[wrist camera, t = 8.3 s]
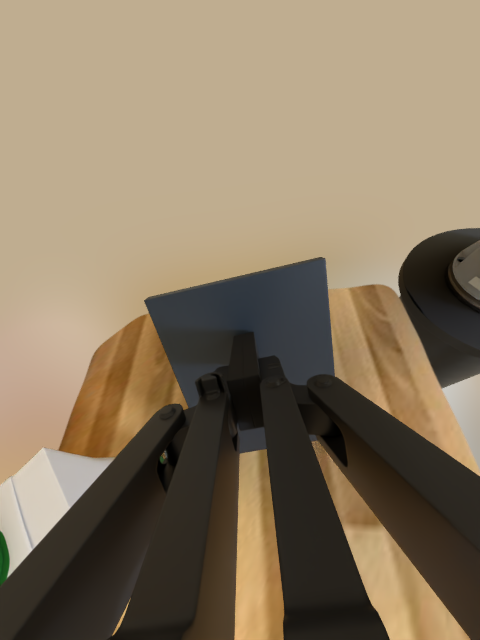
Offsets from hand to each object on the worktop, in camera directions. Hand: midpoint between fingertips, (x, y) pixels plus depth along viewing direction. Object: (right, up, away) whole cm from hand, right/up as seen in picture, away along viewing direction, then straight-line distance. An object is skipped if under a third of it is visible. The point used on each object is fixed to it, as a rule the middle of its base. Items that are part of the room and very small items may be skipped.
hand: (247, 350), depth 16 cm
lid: (+1, -2, +2) cm, 3 cm away
